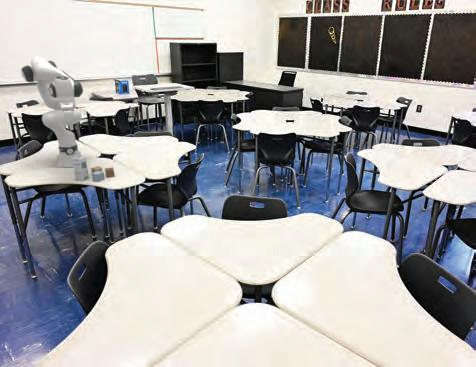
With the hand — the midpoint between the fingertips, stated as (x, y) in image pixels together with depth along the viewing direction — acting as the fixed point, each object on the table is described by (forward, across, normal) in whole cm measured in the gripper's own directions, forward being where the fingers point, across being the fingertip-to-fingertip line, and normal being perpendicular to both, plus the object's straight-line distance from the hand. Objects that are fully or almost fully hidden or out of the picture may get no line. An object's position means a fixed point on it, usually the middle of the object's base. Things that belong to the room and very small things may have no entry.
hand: (71, 128), depth 211 cm
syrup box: (+33, 0, +1) cm, 33 cm away
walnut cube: (+33, +2, +17) cm, 37 cm away
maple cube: (+33, -5, +10) cm, 34 cm away
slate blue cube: (+33, +7, +10) cm, 35 cm away
